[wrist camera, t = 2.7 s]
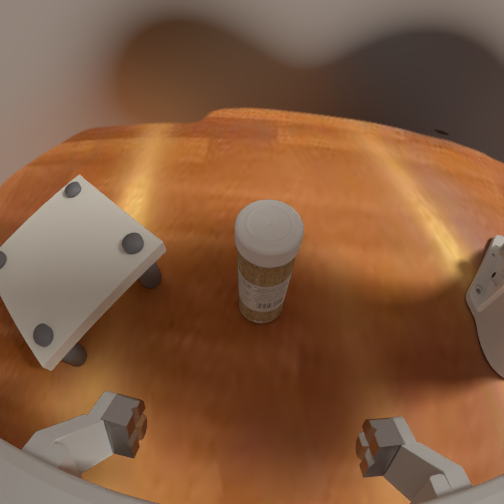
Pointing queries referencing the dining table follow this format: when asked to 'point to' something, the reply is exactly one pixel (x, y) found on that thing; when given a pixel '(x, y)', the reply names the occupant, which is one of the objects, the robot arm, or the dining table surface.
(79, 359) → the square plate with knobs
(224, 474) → the dining table surface
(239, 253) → the sprinkles bottle
